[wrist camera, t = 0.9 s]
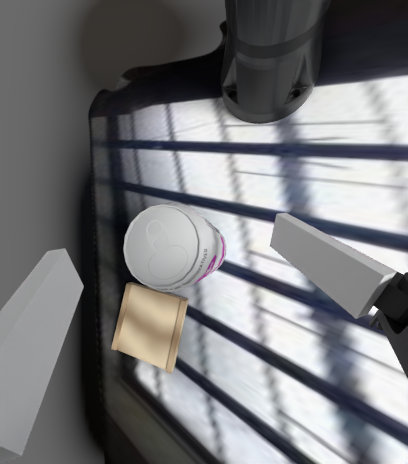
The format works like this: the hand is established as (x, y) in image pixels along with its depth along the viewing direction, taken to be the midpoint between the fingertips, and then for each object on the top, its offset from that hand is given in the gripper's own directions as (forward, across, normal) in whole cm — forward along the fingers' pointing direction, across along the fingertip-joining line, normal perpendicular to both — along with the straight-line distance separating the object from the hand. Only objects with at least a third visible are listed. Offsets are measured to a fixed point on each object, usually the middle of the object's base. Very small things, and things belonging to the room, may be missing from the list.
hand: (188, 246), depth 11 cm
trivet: (+11, -5, -21) cm, 25 cm away
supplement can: (+14, +5, -10) cm, 18 cm away
